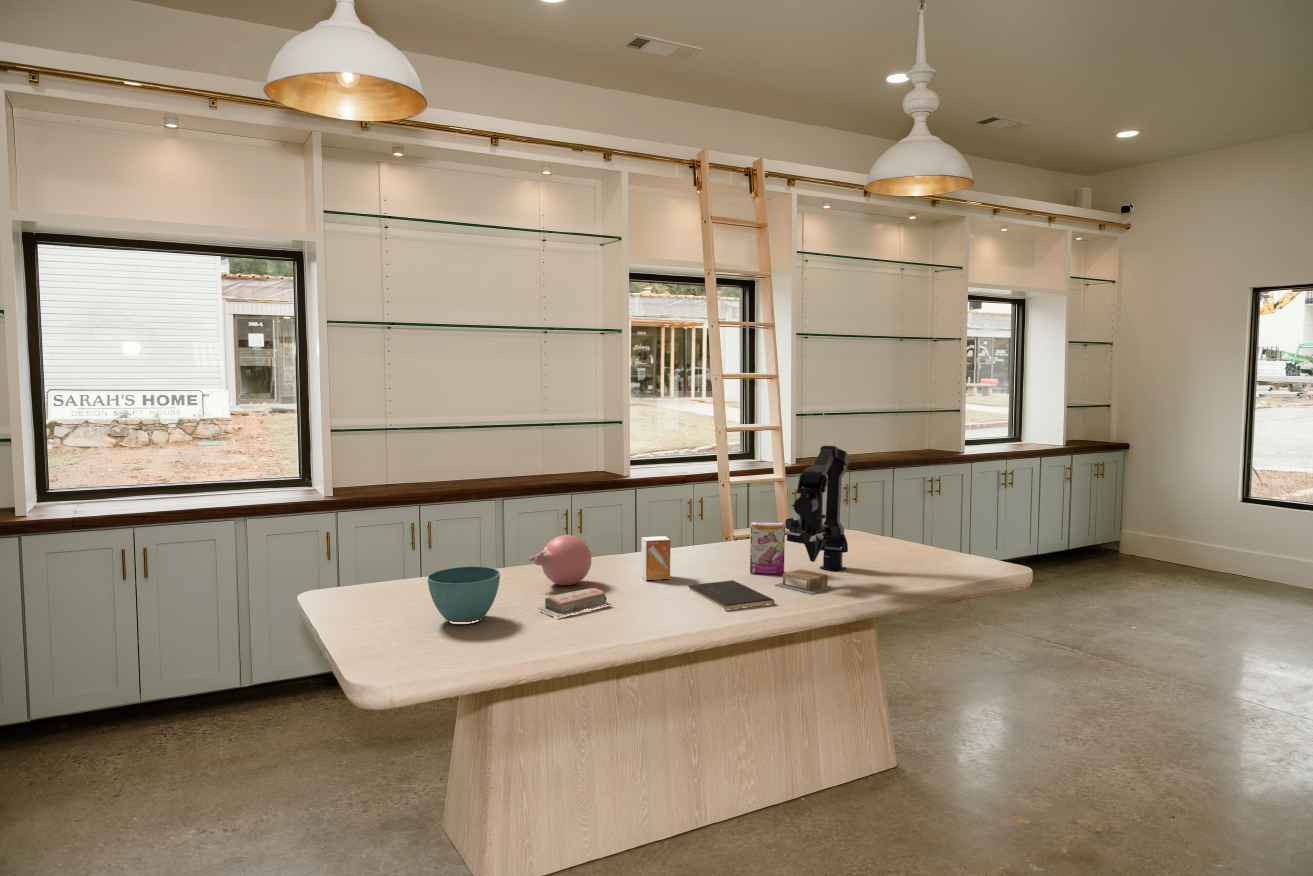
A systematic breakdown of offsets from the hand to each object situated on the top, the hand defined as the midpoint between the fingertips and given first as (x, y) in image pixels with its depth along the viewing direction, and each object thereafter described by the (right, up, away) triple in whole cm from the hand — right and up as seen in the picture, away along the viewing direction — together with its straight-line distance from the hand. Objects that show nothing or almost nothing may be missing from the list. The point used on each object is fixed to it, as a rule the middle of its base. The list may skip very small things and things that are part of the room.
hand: (812, 561), depth 238 cm
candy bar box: (-12, -6, +15) cm, 20 cm away
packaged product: (-71, -10, -26) cm, 76 cm away
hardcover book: (-27, -9, -14) cm, 32 cm away
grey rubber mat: (-4, -7, -3) cm, 9 cm away
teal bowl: (-98, -10, -37) cm, 105 cm away
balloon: (-78, -7, -1) cm, 78 cm away
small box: (-48, -7, +8) cm, 49 cm away
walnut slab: (+1, -5, +1) cm, 5 cm away
